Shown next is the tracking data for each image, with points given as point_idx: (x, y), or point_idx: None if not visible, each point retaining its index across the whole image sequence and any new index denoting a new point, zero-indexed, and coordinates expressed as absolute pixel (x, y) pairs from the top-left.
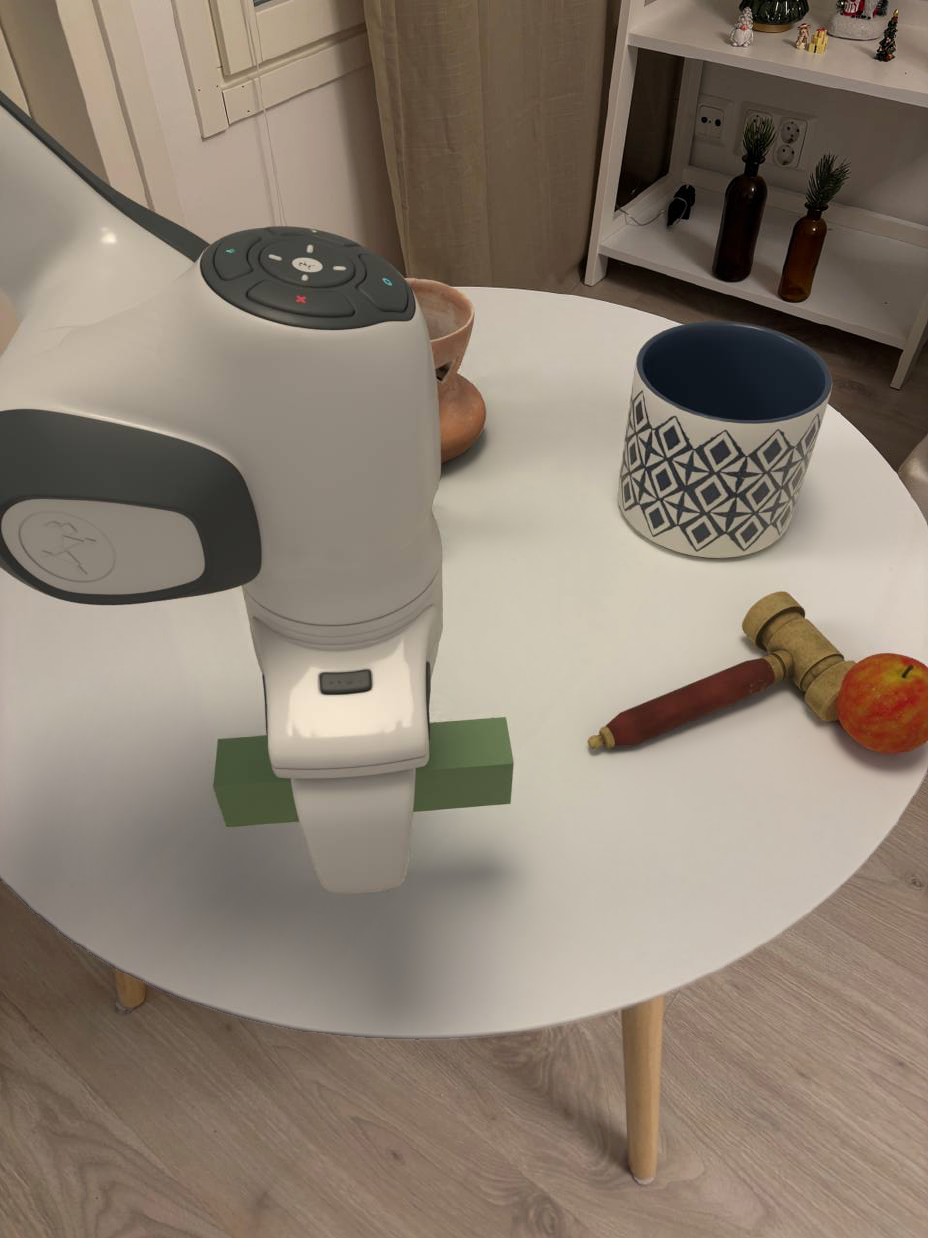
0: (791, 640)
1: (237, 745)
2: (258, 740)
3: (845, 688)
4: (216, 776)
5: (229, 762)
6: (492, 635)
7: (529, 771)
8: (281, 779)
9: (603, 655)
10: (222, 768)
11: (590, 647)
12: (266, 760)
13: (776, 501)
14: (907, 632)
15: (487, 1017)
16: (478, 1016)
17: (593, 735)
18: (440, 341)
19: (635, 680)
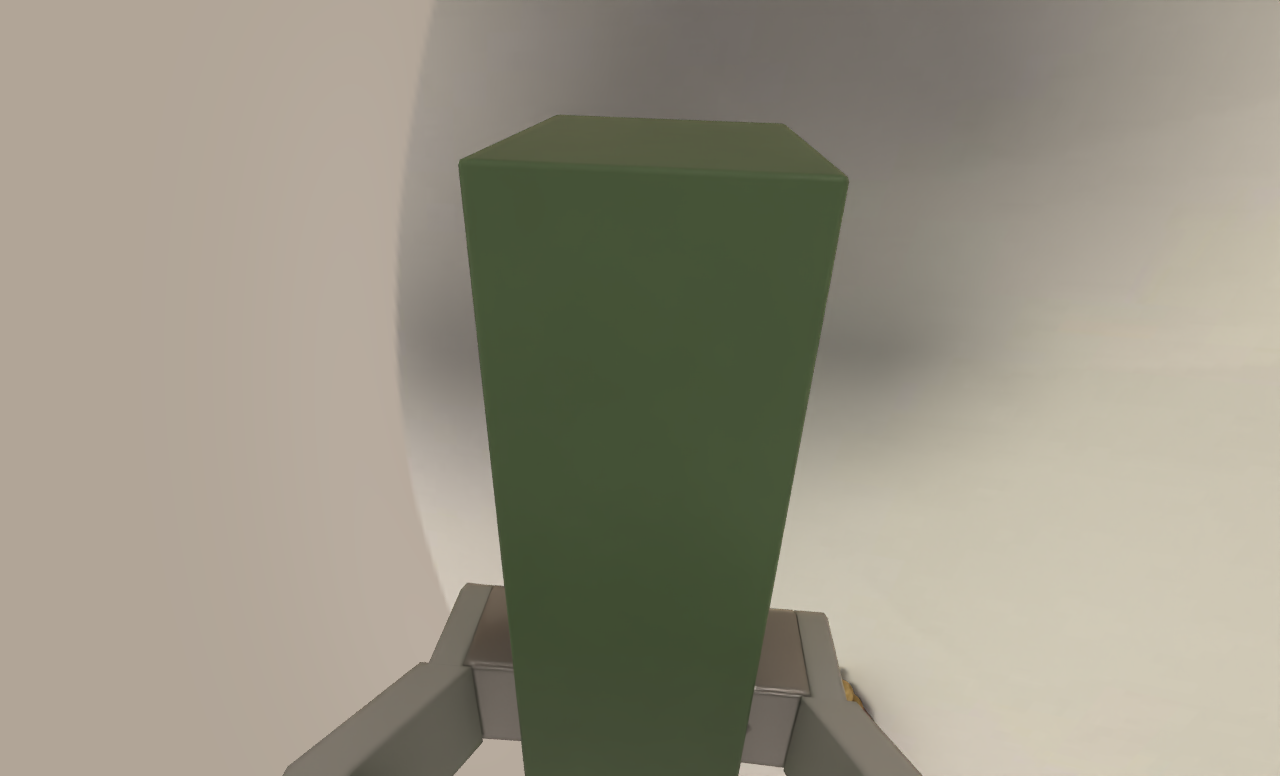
0: None
1: (761, 305)
2: (768, 417)
3: None
4: (539, 180)
5: (637, 260)
6: (1170, 602)
7: (826, 593)
8: (508, 502)
9: (1021, 727)
10: (593, 219)
11: (1049, 717)
12: (625, 449)
13: None
14: None
15: (418, 467)
16: (419, 457)
17: (852, 698)
18: None
19: (949, 746)
